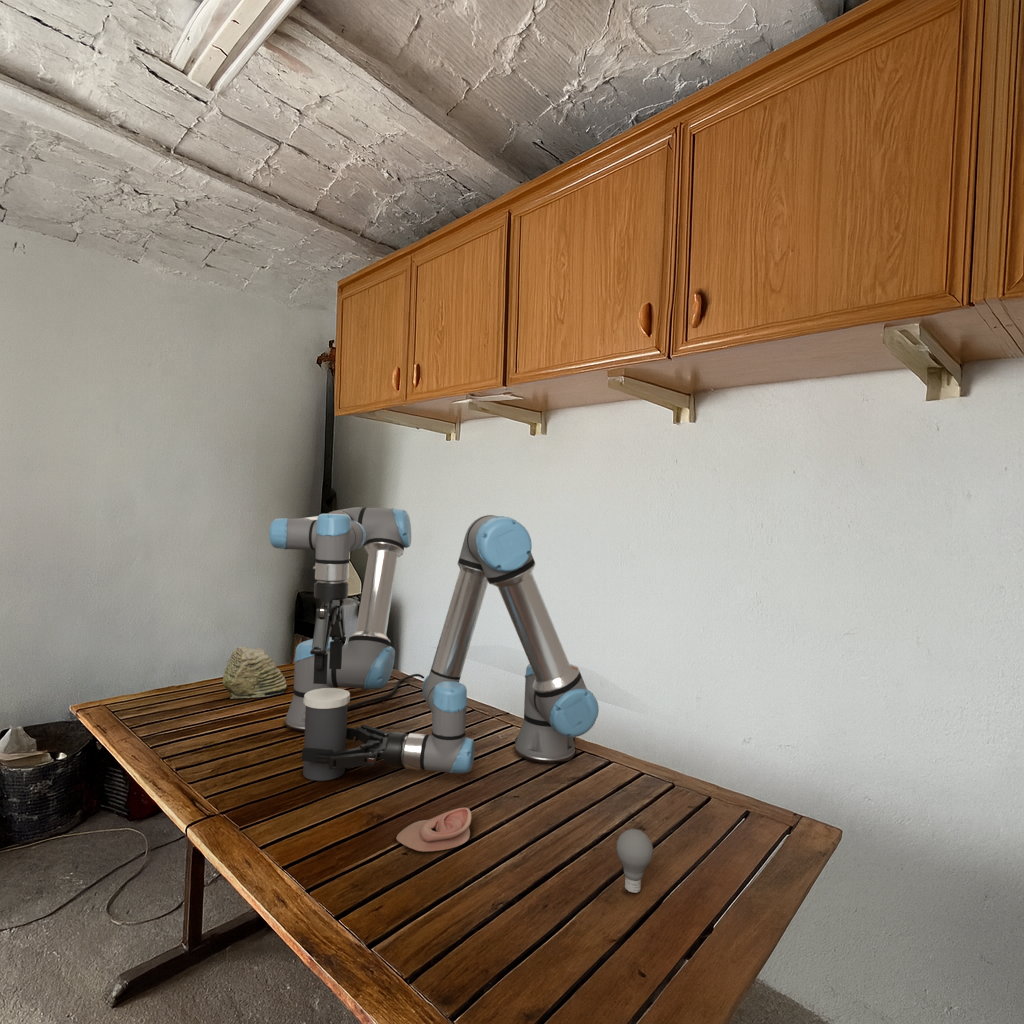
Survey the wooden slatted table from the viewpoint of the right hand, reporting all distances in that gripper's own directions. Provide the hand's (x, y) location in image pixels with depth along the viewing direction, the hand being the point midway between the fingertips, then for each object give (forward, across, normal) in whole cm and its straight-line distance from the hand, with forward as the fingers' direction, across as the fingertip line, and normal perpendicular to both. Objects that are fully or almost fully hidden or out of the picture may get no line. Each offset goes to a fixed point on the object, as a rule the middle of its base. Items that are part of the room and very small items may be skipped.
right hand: (315, 742), depth 145 cm
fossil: (+41, +48, -7) cm, 64 cm away
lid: (-2, 0, +11) cm, 11 cm away
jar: (-2, 0, -7) cm, 7 cm away
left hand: (-2, 0, +16) cm, 16 cm away
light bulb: (-70, -32, -7) cm, 77 cm away
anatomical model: (-34, -22, -7) cm, 41 cm away
